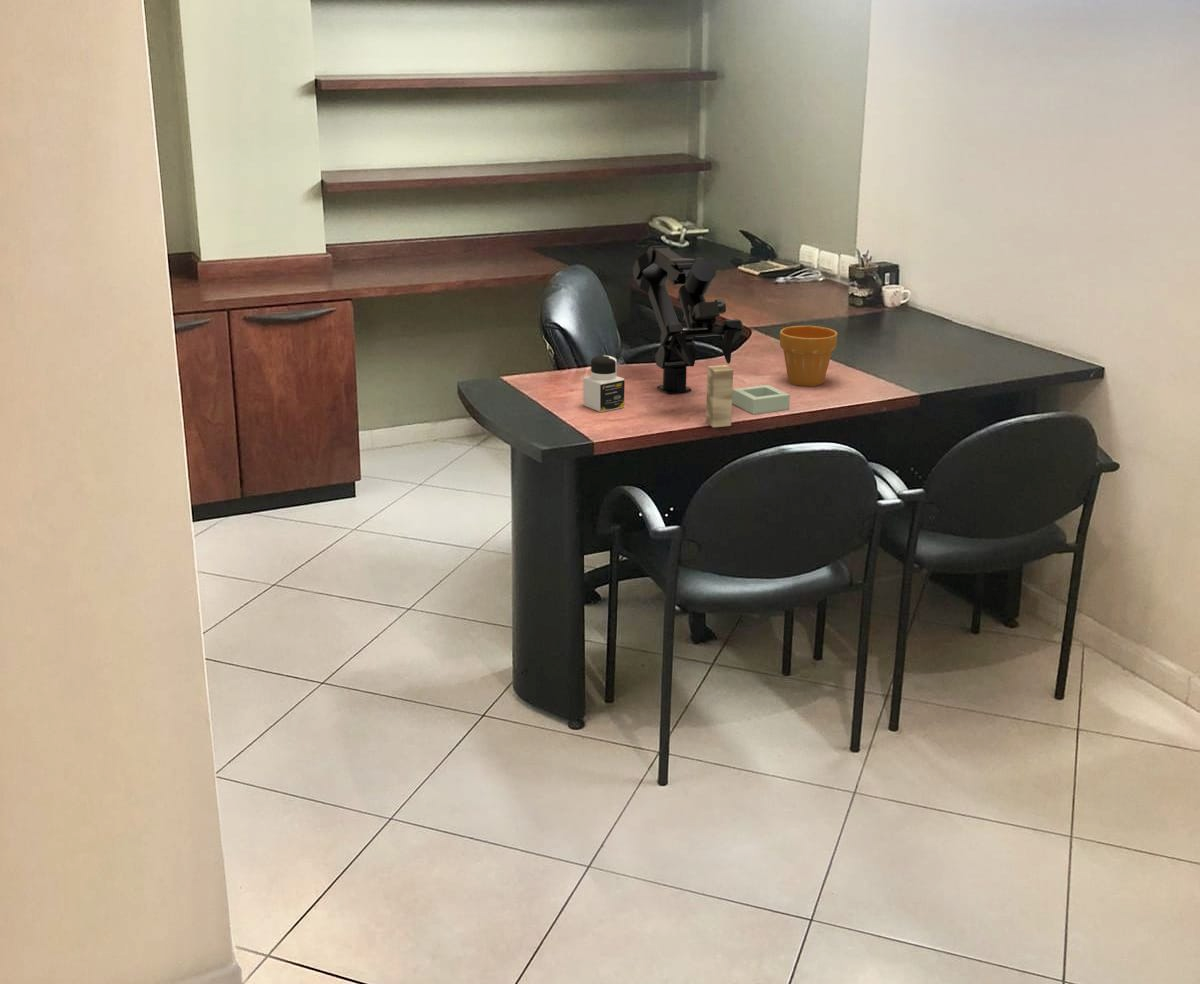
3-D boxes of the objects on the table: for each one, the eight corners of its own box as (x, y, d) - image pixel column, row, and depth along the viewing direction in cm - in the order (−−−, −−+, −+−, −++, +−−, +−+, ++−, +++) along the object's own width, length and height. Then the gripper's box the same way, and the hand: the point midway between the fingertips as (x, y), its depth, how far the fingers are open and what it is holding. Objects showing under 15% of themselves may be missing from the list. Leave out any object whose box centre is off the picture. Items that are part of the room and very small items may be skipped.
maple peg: (705, 421, 279) (707, 366, 275) (723, 420, 281) (725, 365, 276) (712, 427, 275) (714, 371, 271) (731, 425, 277) (733, 369, 272)
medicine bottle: (600, 412, 286) (600, 362, 282) (582, 405, 291) (582, 356, 287) (624, 407, 290) (625, 358, 286) (607, 400, 295) (607, 352, 291)
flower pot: (791, 391, 303) (794, 339, 299) (768, 376, 316) (771, 327, 312) (843, 387, 307) (847, 336, 302) (819, 373, 320) (822, 324, 315)
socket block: (731, 403, 293) (732, 389, 292) (767, 398, 297) (767, 384, 296) (753, 414, 285) (754, 399, 284) (789, 409, 289) (789, 394, 288)
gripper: (665, 288, 275) (681, 348, 269) (742, 284, 280) (759, 342, 274) (653, 316, 285) (668, 374, 279) (727, 311, 290) (744, 368, 284)
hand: (710, 364), depth 279 cm, fingers open, 9 cm apart
